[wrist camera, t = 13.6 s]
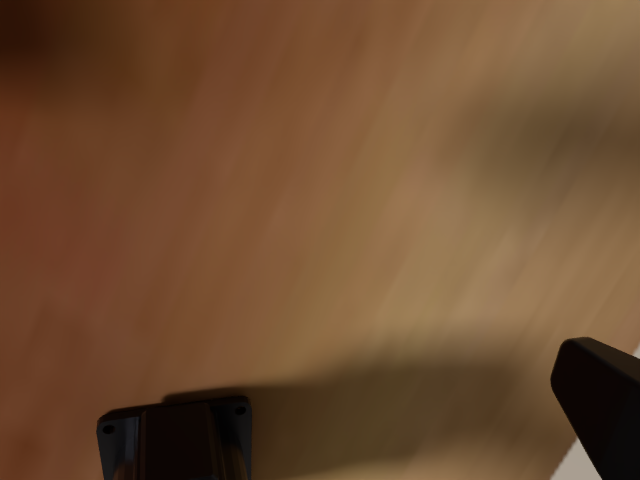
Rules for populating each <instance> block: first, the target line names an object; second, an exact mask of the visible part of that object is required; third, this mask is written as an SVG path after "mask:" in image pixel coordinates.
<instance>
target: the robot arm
mask: <svg viewBox="0 0 640 480" xmlns="http://www.w3.org/2000/svg"><path fill="white" fill-rule="evenodd" d="M550 382H551V387H552V390H553V392H554V394H555V396H556V398H557V400H558V402H559V403H560V405H561V407H562V409H563V411H564V413H565V414H566V416H567V418H568V420H569V422H570V424H571V425H572V427H573V429H574V431H575V433H576V435H577V436H578V438H579V440H580V442H581V444H582V446H583V447H584V449H585V451H586V452H587V454H588V456H589V458H590V460H591V462H592V463H593V465H594V467H595V468H596V471H597V472H598V474H599V475H600V477H601V478H602V480H640V359H638V358H636V357H634V356H632V355H629V354H627V353H625V352H622V351H620V350H618V349H616V348H613V347H611V346H609V345H606V344H604V343H602V342H599V341H597V340H595V339H592V338H589V337H579V338H571V339H567V340H565V341H564V342H563V343H562V344H561V346H560V348H559V351H558V355H557V358H556V361H555V364H554V367H553V370H552V373H551V378H550ZM240 406H243V407H242V408H240V409H236V408H237V407H240ZM107 425H112V427H106V426H107ZM251 432H252V408H251V404H250V400H249V399H248V398H247V397H245V396H235V397H228V398H220V399H213V400H206V401H199V402H191V403H184V404H177V405H169V406H162V407H155V408H148V409H140V410H133V411H126V412H119V413H111V414H106V415H103V416H102V417H100V418H99V420H98V421H97V430H96V433H97V439H98V445H99V451H100V457H101V463H102V469H103V475H104V480H251Z"/></svg>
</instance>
